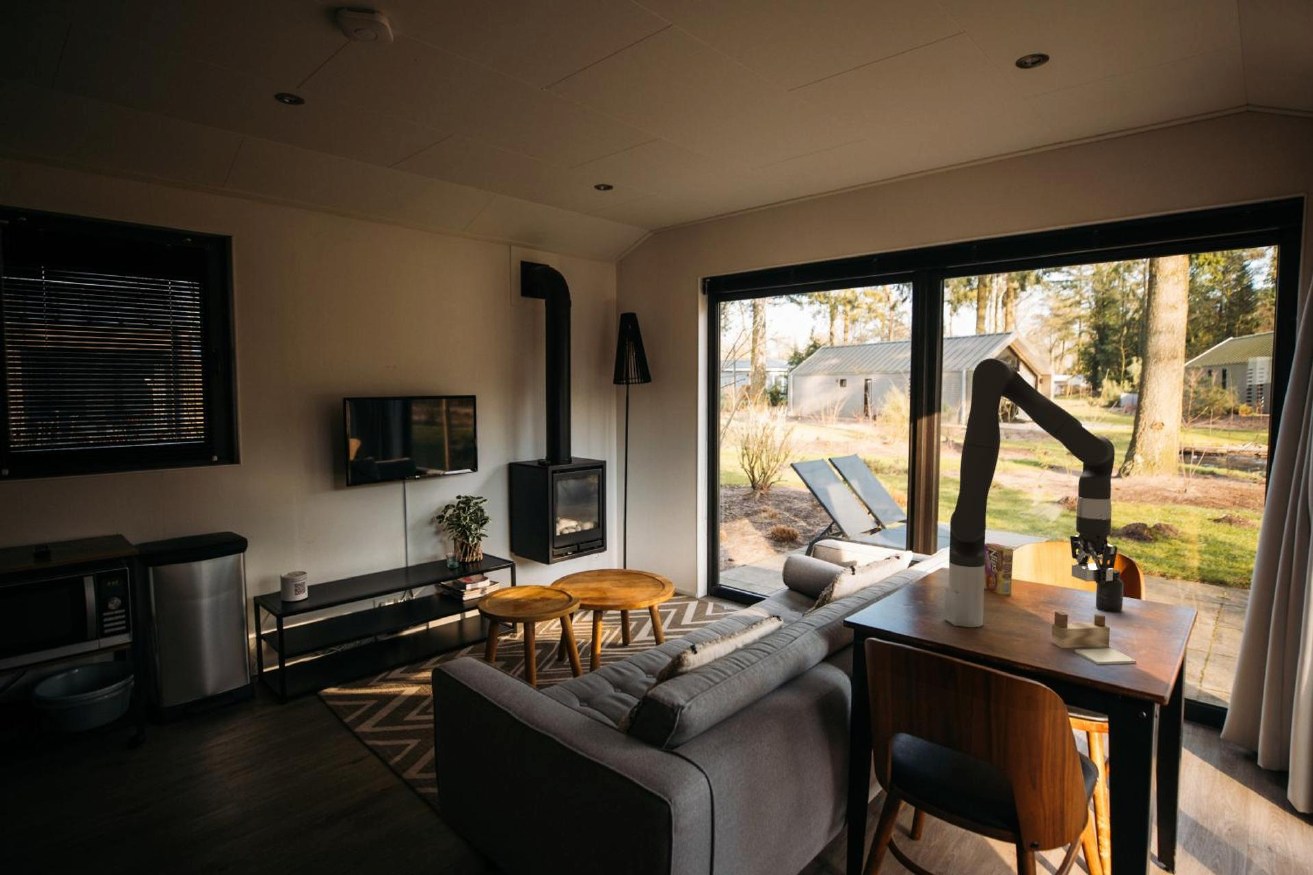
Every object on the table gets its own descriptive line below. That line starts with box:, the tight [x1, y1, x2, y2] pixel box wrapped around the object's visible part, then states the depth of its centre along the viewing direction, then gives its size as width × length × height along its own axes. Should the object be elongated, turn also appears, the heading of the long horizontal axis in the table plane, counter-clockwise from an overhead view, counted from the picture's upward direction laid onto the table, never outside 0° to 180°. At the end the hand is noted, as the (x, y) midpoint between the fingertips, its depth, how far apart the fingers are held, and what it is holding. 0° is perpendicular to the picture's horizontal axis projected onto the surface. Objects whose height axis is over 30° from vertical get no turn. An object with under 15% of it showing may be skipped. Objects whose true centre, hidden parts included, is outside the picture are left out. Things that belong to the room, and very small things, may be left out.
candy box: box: [984, 542, 1014, 596], centre depth 229 cm, size 9×4×15 cm, turn 13°
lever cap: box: [1071, 563, 1114, 583], centre depth 178 cm, size 7×6×3 cm
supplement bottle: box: [1095, 568, 1124, 613], centre depth 210 cm, size 7×7×12 cm
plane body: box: [1051, 610, 1111, 649], centre depth 181 cm, size 13×4×8 cm, turn 95°
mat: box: [1074, 648, 1137, 665], centre depth 172 cm, size 10×8×1 cm
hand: (1091, 580), depth 178 cm, fingers closed on lever cap, 5 cm apart
